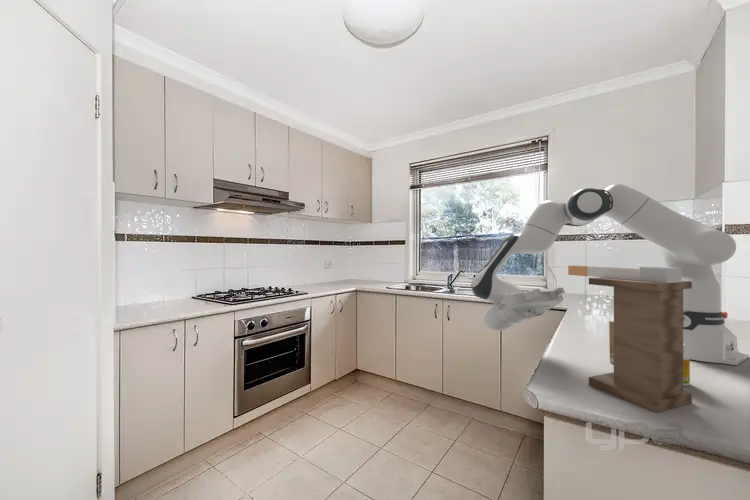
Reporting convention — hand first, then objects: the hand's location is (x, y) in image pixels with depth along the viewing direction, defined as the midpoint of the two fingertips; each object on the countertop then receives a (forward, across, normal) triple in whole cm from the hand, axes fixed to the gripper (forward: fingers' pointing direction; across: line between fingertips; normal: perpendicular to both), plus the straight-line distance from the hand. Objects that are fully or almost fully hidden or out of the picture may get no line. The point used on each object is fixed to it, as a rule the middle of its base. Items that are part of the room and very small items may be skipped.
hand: (550, 290), depth 95 cm
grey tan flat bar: (+19, 0, +5) cm, 19 cm away
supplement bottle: (+8, +16, +29) cm, 34 cm away
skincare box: (-3, +18, +23) cm, 29 cm away
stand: (+10, 0, +30) cm, 31 cm away
